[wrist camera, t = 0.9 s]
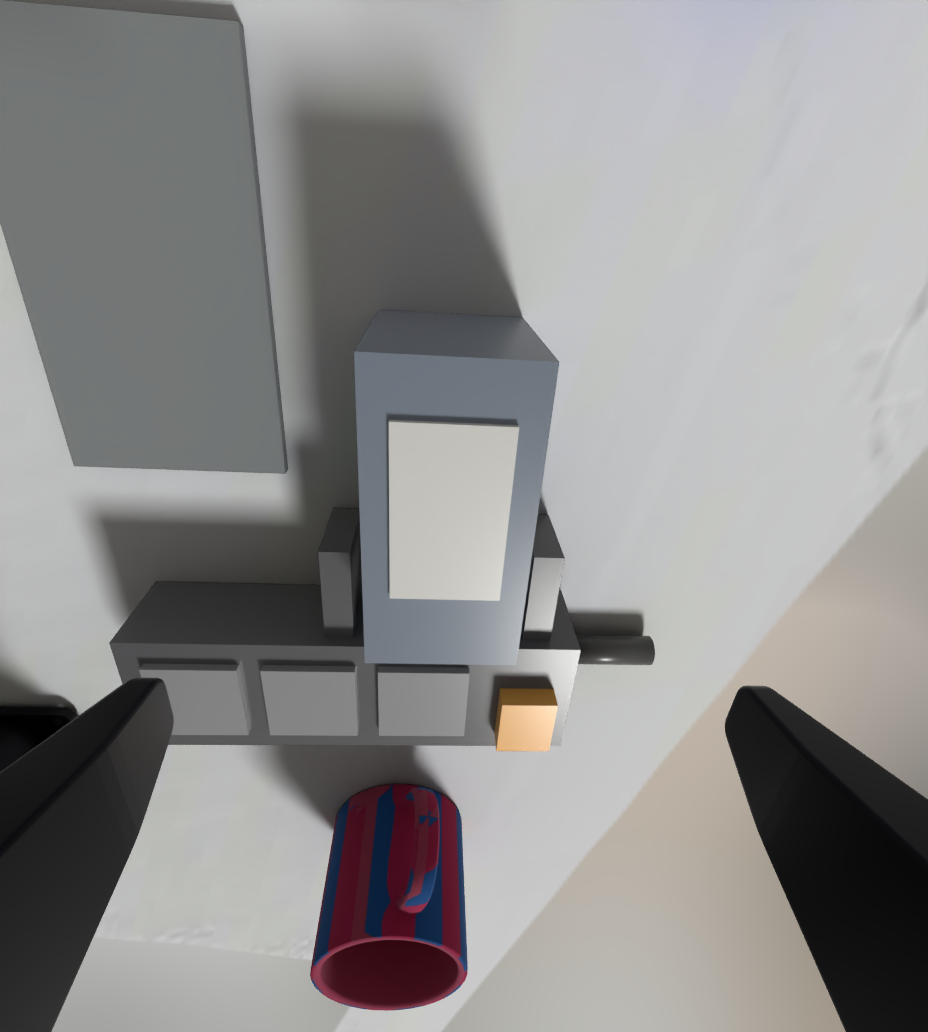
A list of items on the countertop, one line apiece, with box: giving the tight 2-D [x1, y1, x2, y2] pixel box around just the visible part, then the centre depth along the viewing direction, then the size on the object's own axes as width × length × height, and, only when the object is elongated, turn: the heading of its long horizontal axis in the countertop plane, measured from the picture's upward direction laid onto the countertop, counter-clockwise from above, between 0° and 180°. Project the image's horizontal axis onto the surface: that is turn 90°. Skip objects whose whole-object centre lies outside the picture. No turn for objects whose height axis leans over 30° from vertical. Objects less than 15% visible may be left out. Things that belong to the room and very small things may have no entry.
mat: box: [0, 0, 288, 474], centre depth 16 cm, size 7×12×1 cm, turn 177°
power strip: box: [110, 508, 655, 751], centre depth 21 cm, size 20×8×4 cm, turn 87°
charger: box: [354, 310, 559, 665], centre depth 17 cm, size 4×9×6 cm, turn 177°
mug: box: [310, 784, 467, 1010], centre depth 26 cm, size 7×10×7 cm
